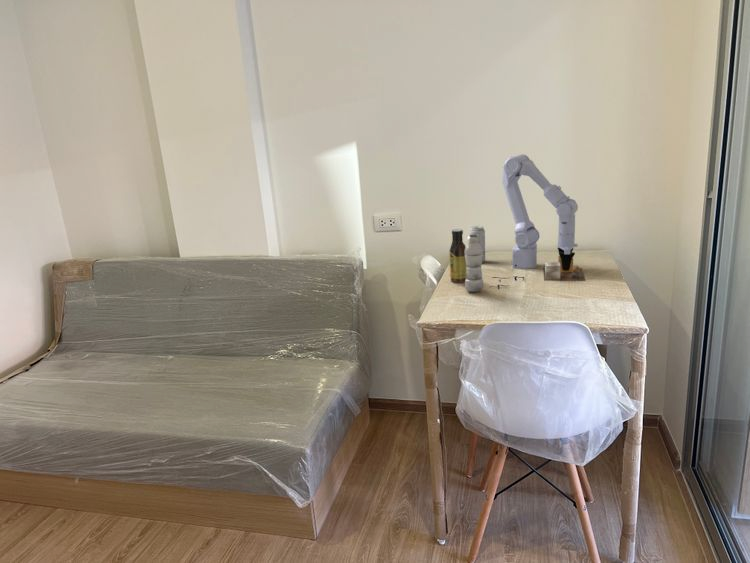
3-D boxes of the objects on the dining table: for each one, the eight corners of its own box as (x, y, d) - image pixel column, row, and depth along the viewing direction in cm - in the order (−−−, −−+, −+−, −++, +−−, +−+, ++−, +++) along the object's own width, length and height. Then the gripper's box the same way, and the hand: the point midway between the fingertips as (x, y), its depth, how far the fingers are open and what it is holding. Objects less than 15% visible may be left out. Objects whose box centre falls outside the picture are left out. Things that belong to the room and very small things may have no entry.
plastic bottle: (463, 293, 190) (461, 238, 184) (467, 287, 196) (465, 234, 190) (481, 294, 187) (480, 238, 182) (485, 288, 193) (484, 234, 188)
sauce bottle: (450, 278, 208) (449, 227, 202) (467, 278, 207) (466, 227, 201) (449, 283, 202) (447, 231, 196) (466, 283, 201) (465, 231, 195)
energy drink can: (487, 262, 225) (486, 227, 221) (472, 264, 225) (472, 229, 220) (483, 259, 231) (482, 224, 226) (469, 260, 231) (468, 226, 226)
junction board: (544, 283, 194) (544, 267, 192) (543, 270, 209) (543, 255, 207) (585, 283, 190) (586, 267, 189) (581, 270, 205) (582, 255, 203)
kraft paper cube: (558, 272, 202) (559, 259, 201) (558, 268, 207) (558, 255, 205) (572, 272, 201) (573, 259, 199) (571, 268, 205) (572, 255, 204)
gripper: (579, 237, 192) (578, 273, 196) (576, 228, 205) (575, 262, 209) (558, 237, 194) (557, 273, 198) (556, 228, 207) (556, 262, 211)
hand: (565, 268), depth 203 cm, fingers closed on kraft paper cube, 5 cm apart
